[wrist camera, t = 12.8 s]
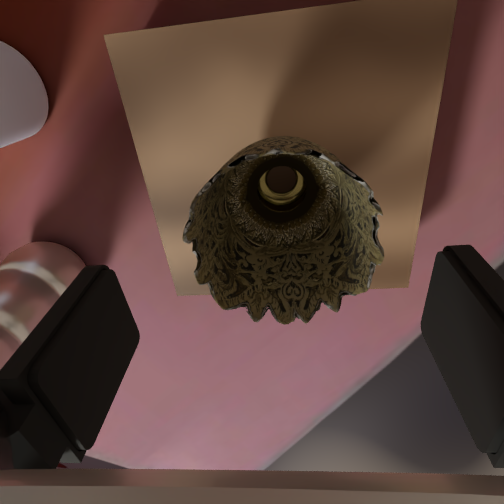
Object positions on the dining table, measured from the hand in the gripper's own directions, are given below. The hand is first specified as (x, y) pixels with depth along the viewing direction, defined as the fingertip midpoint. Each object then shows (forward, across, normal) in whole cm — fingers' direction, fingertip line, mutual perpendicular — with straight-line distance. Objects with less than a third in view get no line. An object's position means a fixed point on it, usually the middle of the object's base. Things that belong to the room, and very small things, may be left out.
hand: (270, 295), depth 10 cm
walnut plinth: (+16, 0, +1) cm, 16 cm away
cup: (+11, 0, 0) cm, 11 cm away
